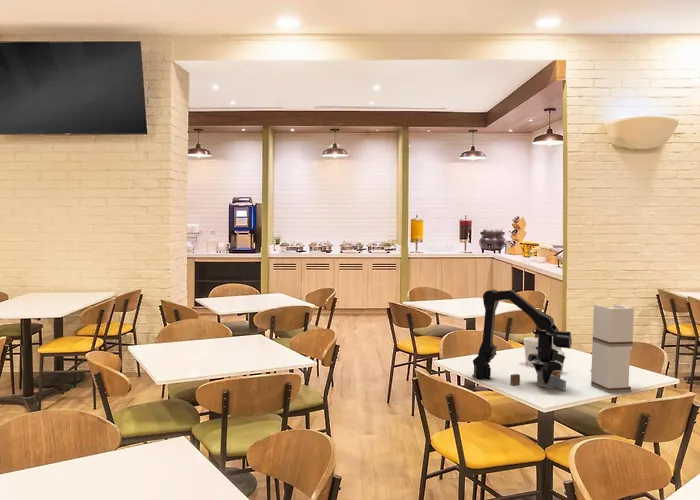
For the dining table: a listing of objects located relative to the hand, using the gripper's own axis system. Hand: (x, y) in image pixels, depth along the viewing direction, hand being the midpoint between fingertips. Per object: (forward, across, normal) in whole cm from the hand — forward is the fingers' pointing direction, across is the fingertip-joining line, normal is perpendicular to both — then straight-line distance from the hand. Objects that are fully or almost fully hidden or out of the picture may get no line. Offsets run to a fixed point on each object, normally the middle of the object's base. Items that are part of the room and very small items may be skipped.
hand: (543, 382), depth 243 cm
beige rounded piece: (+2, +23, -17) cm, 29 cm away
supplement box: (+3, +55, -32) cm, 64 cm away
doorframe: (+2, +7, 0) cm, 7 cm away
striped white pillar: (+2, -4, -28) cm, 28 cm away
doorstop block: (+1, 0, 0) cm, 1 cm away
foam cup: (+2, +37, -13) cm, 39 cm away
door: (+2, 0, -6) cm, 7 cm away
